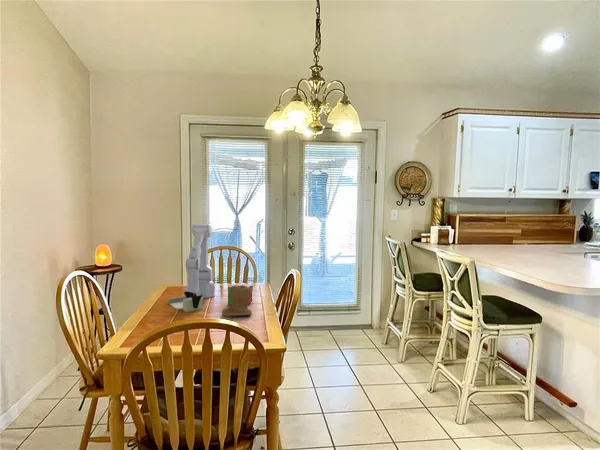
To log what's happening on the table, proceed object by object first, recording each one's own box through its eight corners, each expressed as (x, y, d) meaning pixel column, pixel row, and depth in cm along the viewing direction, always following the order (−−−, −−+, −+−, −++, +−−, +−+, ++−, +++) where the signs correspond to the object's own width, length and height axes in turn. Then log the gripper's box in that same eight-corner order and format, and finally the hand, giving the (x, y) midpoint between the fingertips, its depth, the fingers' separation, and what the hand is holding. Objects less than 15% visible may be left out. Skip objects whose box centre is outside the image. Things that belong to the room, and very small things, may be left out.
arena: (194, 299, 221) (194, 294, 221) (203, 305, 212) (203, 299, 212) (168, 304, 212) (168, 298, 212) (176, 309, 203) (176, 304, 203)
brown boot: (250, 310, 205) (251, 282, 204) (252, 317, 193) (253, 288, 192) (221, 311, 202) (221, 283, 201) (221, 318, 190) (221, 288, 189)
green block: (199, 307, 209) (199, 296, 208) (202, 309, 205) (202, 298, 204) (182, 309, 203) (182, 298, 202) (186, 312, 199) (186, 300, 199)
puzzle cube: (252, 302, 219) (252, 285, 219) (242, 307, 210) (243, 289, 209) (237, 300, 224) (237, 283, 223) (227, 304, 214) (227, 286, 214)
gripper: (180, 279, 206) (180, 304, 207) (191, 284, 195) (191, 311, 196) (192, 277, 210) (192, 302, 211) (204, 282, 199) (204, 308, 200)
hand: (192, 306), depth 204 cm, fingers open, 7 cm apart
